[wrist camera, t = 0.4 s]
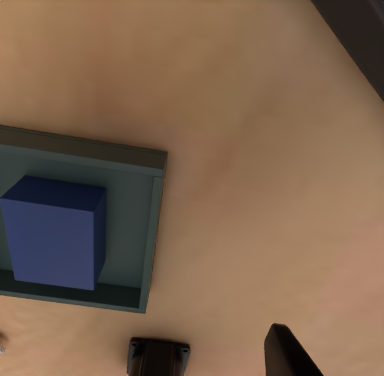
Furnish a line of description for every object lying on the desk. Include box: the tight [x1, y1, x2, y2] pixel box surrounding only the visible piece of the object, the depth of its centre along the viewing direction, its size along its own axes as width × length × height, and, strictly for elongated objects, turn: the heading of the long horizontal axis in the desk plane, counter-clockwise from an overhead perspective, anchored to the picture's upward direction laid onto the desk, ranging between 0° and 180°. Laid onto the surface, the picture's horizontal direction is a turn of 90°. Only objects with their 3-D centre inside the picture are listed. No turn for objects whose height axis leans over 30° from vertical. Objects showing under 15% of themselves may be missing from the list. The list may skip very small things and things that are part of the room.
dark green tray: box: [0, 125, 168, 314], centre depth 23 cm, size 14×14×3 cm
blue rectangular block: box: [0, 175, 107, 290], centre depth 23 cm, size 8×6×3 cm
